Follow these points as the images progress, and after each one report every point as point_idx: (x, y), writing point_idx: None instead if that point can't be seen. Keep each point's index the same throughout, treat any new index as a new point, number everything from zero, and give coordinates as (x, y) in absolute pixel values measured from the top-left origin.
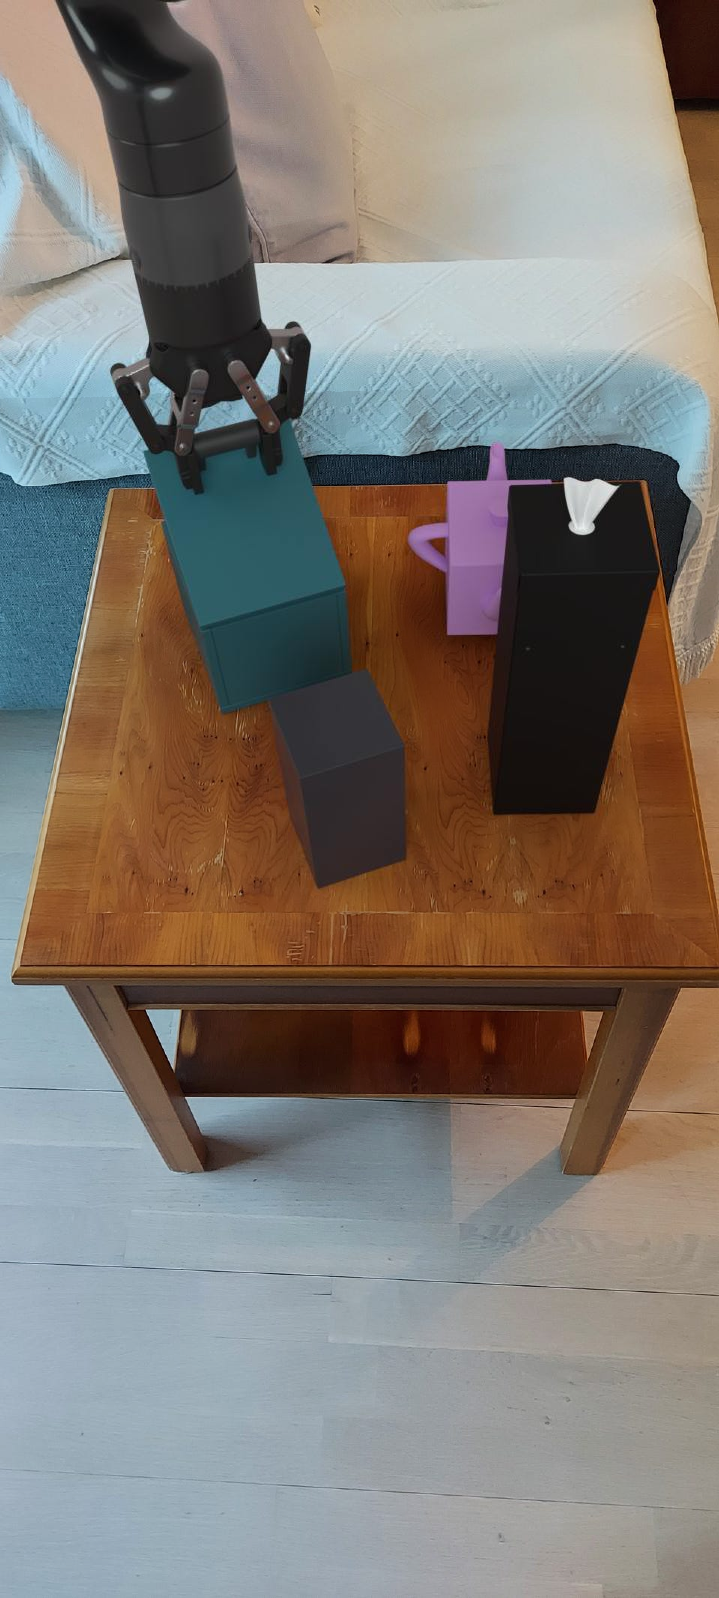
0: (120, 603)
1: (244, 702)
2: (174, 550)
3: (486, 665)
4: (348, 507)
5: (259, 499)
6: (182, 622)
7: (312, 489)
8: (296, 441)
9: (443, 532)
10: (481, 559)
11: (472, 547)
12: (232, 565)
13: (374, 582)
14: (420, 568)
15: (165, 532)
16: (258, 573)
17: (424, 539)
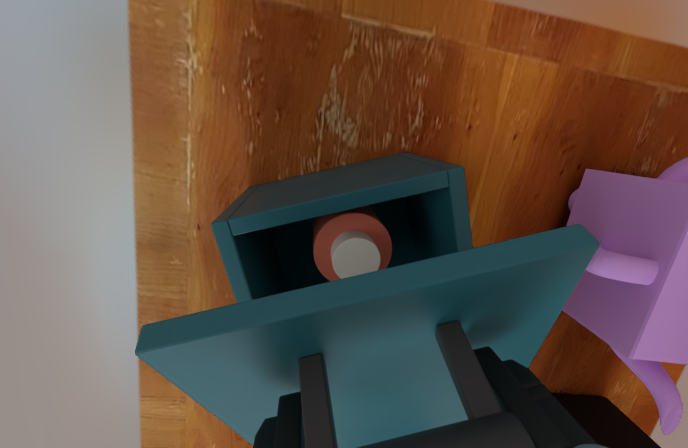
0: (161, 166)
1: None
2: (240, 300)
3: (558, 316)
4: (488, 23)
5: (426, 378)
6: None
7: (533, 356)
8: (568, 295)
9: (643, 283)
10: (671, 355)
11: (671, 333)
12: (347, 436)
13: (485, 183)
14: (543, 168)
15: (221, 254)
16: (384, 433)
17: (609, 278)
